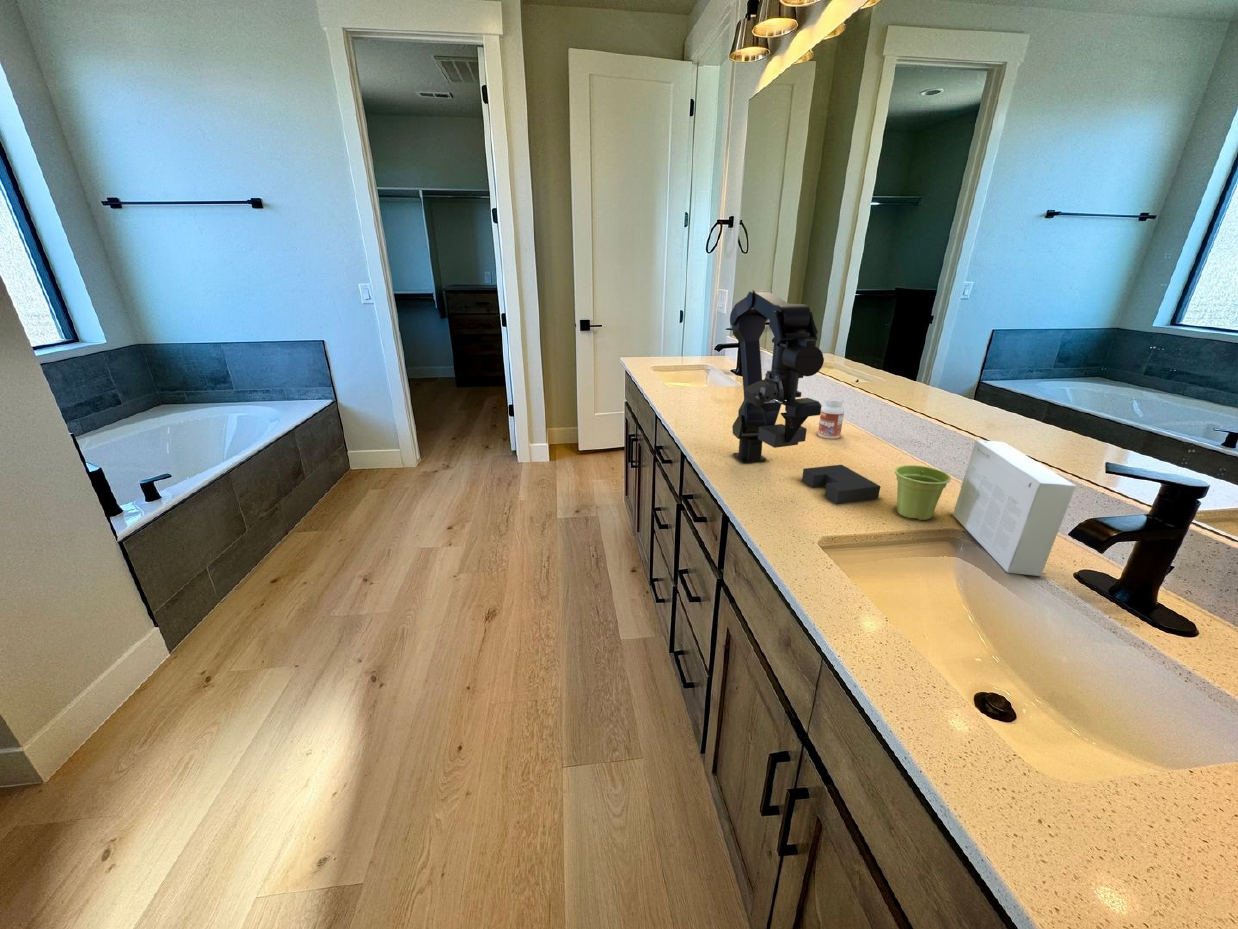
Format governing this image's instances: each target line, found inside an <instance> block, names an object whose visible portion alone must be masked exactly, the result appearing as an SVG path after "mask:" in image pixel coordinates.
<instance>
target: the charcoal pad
mask: <svg viewBox="0 0 1238 929" xmlns="http://www.w3.org/2000/svg"><path fill="white" fill-rule="evenodd" d="M801 481H802V482H804V483H805V484H806V485H808V486H809V487H811V489H813V488H820V487H825V489H824V497H825V498H827V499H829V500H830V501H831V502H833V503H835V505H840V504H849V503H856V502H857V503H858V502H865V501H872V500H878V499H879V497H880V491H881V485H879V484H877V483H876V482H874V481H872V480H870V479H869V478H867V477H865V476H863V475H861V474H859V473H858V472H856V471H854V470H852V469H851V468H849V467H847V466H845V465H844V464H834V465H833V464H832V465H826V466H825V465H824V466H815V467H806V468H803V469H802V475H801Z"/></svg>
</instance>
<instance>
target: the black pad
mask: <svg viewBox="0 0 1238 929" xmlns="http://www.w3.org/2000/svg"><path fill="white" fill-rule="evenodd" d="M807 431H808V428H806V427H804V426H802V425H801V426H800V428H799V429H798V431H797V432H796V434H795V435H794V437H793V438H792V440H791V441H790V442H787V443H786V442H785V424H783V423H779V424H775V425H769V426H760V427H759V433H758V439H759V440H761V441H762V443H765V444H766V445H768V446H770V447H772V448H774V449H776V448H777V449H778V448H785V447H792V446H798V445H799V443H802V442H806V439H807V438H806V437H807Z"/></svg>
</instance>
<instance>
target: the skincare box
mask: <svg viewBox="0 0 1238 929" xmlns="http://www.w3.org/2000/svg"><path fill="white" fill-rule="evenodd" d="M961 482H962V483H961V485H960V490H959V494H958V496H957V500H956V503H955V506H954V509H953V512H952V515H953V517H954V518H955V519H956V520H957V522H959V523H960V524H961V525H962V526H963V527H964V529H965V530H966V531H967V532H968V533H969V534H970V535H971V536H972V537H973V538H974V539H975V540H976V542H978V544H980V545H981V547H983V549H984V550H985V551H986V552H987V553H988V554H989V555H990V556H991V557H992V559H994V560H995V561H996V562H997V563H998V565H999V566H1000V567H1001V568H1002V569H1003V570H1004V571H1005V572H1006V573H1008V574H1018V575H1026V576H1027V575H1028V576H1036V577H1041V576H1042V575H1043V572H1044V570H1045V567H1046V564H1047V561H1048V559H1049V556H1050V554H1051V552H1052V549H1053V547H1054V544H1055V541H1056V538H1057V536H1058V533H1059V530H1060V529H1061V526H1062V523H1063V520H1064V518H1065V516H1066V513H1067V510H1068V507H1069V506H1070V502H1071V500H1072V497H1073V495H1074V493H1075V490H1076V488H1077V485H1076V484H1074V483H1073V482H1070V481H1069V480H1067V479H1066V478H1064V477H1063V476H1061V475H1059V474H1057V473H1056V472H1054V471H1053V470H1052V469H1049V468H1048V467H1046V466H1045V465H1043V464H1041V463H1040V462H1038V461H1036V460H1034V459H1033V458H1031V457H1029V456H1028V455H1026V454H1024V453H1022V452H1021V451H1019V450H1018V449H1016V448H1014V447H1013V446H1011V445H1010V444H1008V443H1006V442H1004V441H995V440H982V439H974V443H973V447H972V450H971V453H970V457H969V460H968V462H967V467H966V470H965V473H964V476H963V478H962V481H961Z"/></svg>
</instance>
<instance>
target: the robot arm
mask: <svg viewBox="0 0 1238 929" xmlns="http://www.w3.org/2000/svg"><path fill="white" fill-rule="evenodd" d="M767 321H769V323H768V327H769V329H770V330H771V332H772V334H773V338H771V343H773V348H772V360H771V370H767V371H766V373H765V376H764V379H763V371H762V370H763V368H762V356H761V343H760V340H761V337H762V335H763V333H764V331H765V329H766V324H767ZM729 324H730V326H731V329H732V335H733V336H734V338H735V339H736V340H737V341H738V343H739V347H740V359H741V360H740V362H741V374H742V375H741V376H742V387H743V390H742V391H743V401H742V403H741V405H740V407H739V408H738V414H737V415H738V416H737V417H736V419H735V420H734V422H733V424H732V435H733V436H734V437H735V438H736V439H738V441H739V442H738V452H733V453H732V456H733V457H735V458H736V459H737V460H739V461H740V462H741V463H743V464H748V463H749V464H750V463H759V462H766V461H767V458H766V457H764V456H763V455H762V453H763V452H762V451H763V441H761V440H759V439H758V433H759V427H760V426H769V425H776V423H777V421H778V417H779V414H780V415H781V417H783V419H784V425H785V442H786V443H787V442H790V441H791V440H792V438H793V437H794V435H795V434H796V432H797V431H798V429H799V428H800V426H802V425H803V424H804V423H805V421H806V420H807V419H808V418H810V417H815V416H820V415H821V409H822V407H823V405H822V404H821V402H820V401H818V400H816V399H812V398H810V397H803V398H802V391H798V389H799V379H803V378H804V377H812V376H815V375H816V374H817V373H818V372H820V371H821V369H822V367H823V366H824V362H825V357H824V354H823V352H822V350H821V349H820V348H819V347H817V340H818V332H819V331H818V329H817V325H816V323H815V320H814V315H813V312H812V311H811V308H810V306H809V305H808V304H803V303H788V302H787V301H785V300H784V299H782V298H780V297H778V296H777V295H775V294H773V292H772V291H771V290H769V289H752V290H751V291H748V293H747V295H746V297H744V298H742V299H741V300H739V301H738V302H737V303H735V304H734V306H733V308H732V310H731V311H730V314H729ZM782 406H784V410H785V412H780V411H781V408H782Z"/></svg>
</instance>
